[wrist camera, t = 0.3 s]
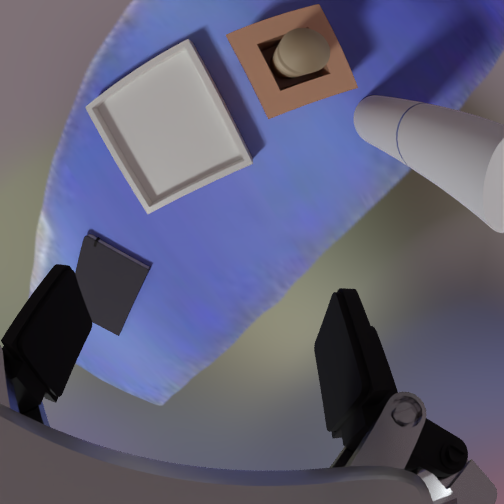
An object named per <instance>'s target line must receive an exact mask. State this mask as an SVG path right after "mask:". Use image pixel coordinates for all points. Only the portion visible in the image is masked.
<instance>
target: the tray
mask: <svg viewBox="0 0 504 504" xmlns="http://www.w3.org/2000/svg"><path fill="white" fill-rule="evenodd" d="M85 108H86V110H87V111H88V113H89V115H90V117H91V119H92V121H93V123H94V124H95V126H96V128H97V130H98V132H99V134H100V135H101V137H102V139H103V141H104V142H105V144H106V146H107V148H108V149H109V151H110V153H111V155H112V156H113V158H114V160H115V162H116V163H117V165H118V167H119V168H120V170H121V172H122V173H123V175H124V177H125V178H126V180H127V182H128V183H129V185H130V187H131V188H132V190H133V191H134V193H135V195H136V196H137V198H138V199H139V201H140V203H141V204H142V206H143V207H144V209H145V210H146V212H147V214H149V213H151V212H153V211H155V210H157V209H159V208H161V207H163V206H165V205H166V204H168V203H170V202H172V201H174V200H176V199H178V198H180V197H182V196H184V195H186V194H188V193H190V192H192V191H194V190H196V189H199V188H201V187H203V186H205V185H207V184H209V183H211V182H213V181H215V180H218V179H220V178H222V177H224V176H226V175H228V174H231V173H233V172H235V171H237V170H240V169H242V168H244V167H246V166H249V165H251V164H253V158H252V156H251V154H250V152H249V150H248V148H247V146H246V144H245V142H244V140H243V138H242V136H241V134H240V132H239V130H238V128H237V126H236V124H235V122H234V120H233V118H232V116H231V114H230V112H229V110H228V108H227V106H226V104H225V102H224V100H223V98H222V96H221V94H220V92H219V91H218V89H217V87H216V85H215V83H214V81H213V79H212V77H211V75H210V74H209V72H208V70H207V68H206V66H205V64H204V62H203V61H202V59H201V57H200V55H199V53H198V51H197V50H196V48H195V46H194V44H193V42H192V41H190V40H189V39H187V40H185V41H183V42H181V43H179V44H177V45H176V46H174V47H172V48H170V49H168V50H167V51H165V52H163V53H161V54H160V55H158V56H156V57H155V58H153V59H151V60H150V61H148V62H147V63H145V64H144V65H142V66H140V67H139V68H137V69H136V70H134V71H133V72H131V73H130V74H128V75H127V76H125V77H124V78H123V79H121V80H120V81H118V82H117V83H116V84H114V85H113V86H112V87H110V88H109V89H107V90H106V91H105V92H104V93H102V94H101V95H100V96H98V97H97V98H96V99H95V100H93V101H92V102H91V103H90V104H88V105H87V106H86V107H85Z"/></svg>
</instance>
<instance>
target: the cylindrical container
mask: <svg viewBox="0 0 504 504" xmlns="http://www.w3.org/2000/svg"><path fill="white" fill-rule="evenodd" d="M354 125H355V128H356V131H357V132H358V134H359V136H360V137H361V138H362V139H363V140H365V141H366V142H368V143H370V144H371V145H373V146H375V147H377V148H379V149H380V150H382V151H384V152H386V153H387V154H389V155H391V156H392V157H394V158H396V159H397V160H399V161H401V162H402V163H404V164H405V165H407V166H409V167H410V168H412V169H413V170H415V171H416V172H418V173H419V174H421V175H422V176H424V177H425V178H427V179H428V180H430V181H431V182H433V183H434V184H436V185H437V186H439V187H440V188H441V189H443V190H444V191H446V192H447V193H448V194H450V195H451V196H452V197H454V198H455V199H456V200H458V201H459V202H460V203H462V204H463V205H464V206H466V207H467V208H468V209H469V210H470V211H472V212H473V213H474V214H475V215H477V216H478V217H479V218H480V219H481V220H482V221H484V222H485V223H486V224H487V225H488V226H489V227H491V228H492V229H493V230H495V231H496V232H500V233H504V125H503V124H500V123H497V122H494V121H491V120H489V119H485V118H482V117H479V116H475V115H472V114H469V113H465V112H461V111H458V110H454V109H450V108H446V107H441V106H437V105H432V104H428V103H423V102H417V101H412V100H406V99H400V98H394V97H387V96H379V95H372V96H368V97H366V98H364V99H363V100H361V101H360V102H359V104H358V105H357V107H356V109H355V112H354Z"/></svg>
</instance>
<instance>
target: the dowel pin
mask: <svg viewBox="0 0 504 504" xmlns="http://www.w3.org/2000/svg"><path fill="white" fill-rule="evenodd" d="M329 58H330V47H329V44H328V42H327V41H326V39H325V38H324V37H323V36H322V35H321V34H320V33H318V32H317V31H315V30H312V29H308V28H297V29H293V30H291V31H289V32H288V33H286V34H285V35H284V36H283V38H282V40H281V41H280V43H279V45H278V46H277V48H276V50H275V52H274V53H273V55H272V57H271V59H270V68H271V70H272V72H273V73H274V74H275V75H276V76H278V77H280V78H283V79H292V78H295V77H298V76H302V75H305V74H309V73H313V72H316V71H319V70H320V69H322V68H323V67H324V66H325V65H326V64H327V62H328V61H329Z"/></svg>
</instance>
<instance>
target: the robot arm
mask: <svg viewBox="0 0 504 504" xmlns="http://www.w3.org/2000/svg"><path fill="white" fill-rule="evenodd" d="M91 328H92V320H91V317H90V314H89V312H88V309H87V307H86V304H85V301H84V299H83V296H82V293H81V290H80V287H79V284H78V281H77V278H76V275H75V272H74V271H73V270H72V269H71V267H70V266H67V265H60V264H56V265H55V266H54V267H53V268H52V269H51V270H50V272H49V273H48V274H47V275H46V277H45V278H44V279H43V281H42V282H41V283H40V284H39V286H38V287H37V288H36V290H35V291H34V292H33V294H32V295H31V297H30V298H29V299H28V301H27V302H26V304H25V305H24V306H23V308H22V309H21V311H20V312H19V314H18V315H17V317H16V318H15V320H14V321H13V323H12V324H11V326H10V327H9V329H8V330H7V332H6V333H5V335H4V337H3V338H2V340H1V341H2V343H3V345H4V346H3V348H1V346H0V504H495V501H496V498H497V489H496V488H495V486H494V484H493V483H492V482H491V481H490V480H489V479H488V477H487V476H486V475H485V474H484V473H483V472H482V470H481V469H480V468H479V467H478V466H477V465H476V463H475V462H474V461H473V460H470V461H468V460H467V458H468V451H467V447H466V445H465V443H464V442H463V441H462V440H461V439H460V438H458V437H456V436H455V435H453V434H451V433H450V432H448V431H446V430H444V429H443V428H441V427H440V426H438V425H436V424H435V423H433V422H432V421H430V420H428V419H427V418H426V408H425V406H424V403H423V402H422V401H421V399H420V398H418V397H417V396H416V395H414V394H412V393H409V392H399V393H398V392H397V388H396V385H395V382H394V379H393V376H392V373H391V370H390V367H389V364H388V362H387V359H386V356H385V353H384V350H383V348H382V345H381V342H380V339H379V337H378V334H377V331H376V330H375V328H374V327H373V326H370V323H369V321H368V318H367V315H366V313H365V310H364V308H363V305H362V303H361V300H360V298H359V295H358V293H357V291H356V290H355V289H342V288H341V289H339V290H338V292H334V293H333V294H332V297H331V300H330V303H329V306H328V309H327V311H326V314H325V317H324V320H323V323H322V325H321V328H320V331H319V333H318V336H317V339H316V341H315V347H314V349H315V350H314V351H315V357H316V363H317V369H318V375H319V381H320V387H321V394H322V400H323V407H324V413H325V420H326V427H327V430H328V431H329V432H330V431H332V437H333V438H339V437H342V439H343V445H344V446H345V447H344V448H343V450H342V451H341V453H340V454H339V455H338V457H337V458H336V459H335V461H334V462H333V464H332V465H331V466H330V468H322V469H310V470H289V471H288V470H286V471H251V470H250V471H249V470H229V469H228V470H227V469H215V468H206V467H197V466H190V465H182V464H176V463H169V462H164V461H159V460H154V459H149V458H144V457H140V456H136V455H132V454H128V453H124V452H120V451H116V450H113V449H110V448H106V447H103V446H100V445H96V444H93V443H90V442H87V441H85V440H82V439H79V438H76V437H73V436H71V435H68V434H66V433H63V432H60V431H58V430H55V429H53V428H51V427H50V426H49V423H48V420H47V416H46V413H45V410H44V406H43V403H42V400H43V397H45V398H46V399H48V400H51V401H53V402H56V401H57V399H58V397H60V396H61V395H62V393H63V391H64V388H65V386H66V384H67V381H68V379H69V376H70V374H71V371H72V369H73V367H74V365H75V363H76V360H77V358H78V356H79V354H80V352H81V350H82V347H83V345H84V343H85V341H86V339H87V337H88V335H89V333H90V331H91Z"/></svg>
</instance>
